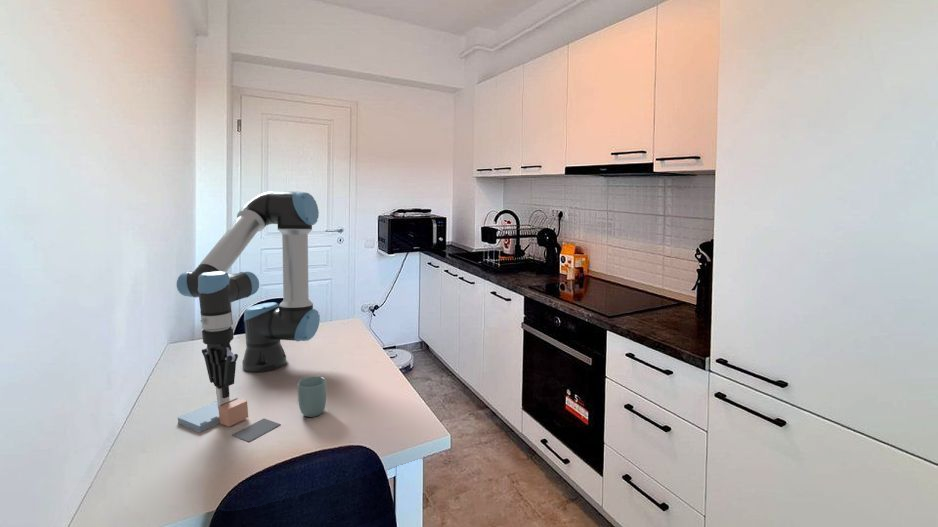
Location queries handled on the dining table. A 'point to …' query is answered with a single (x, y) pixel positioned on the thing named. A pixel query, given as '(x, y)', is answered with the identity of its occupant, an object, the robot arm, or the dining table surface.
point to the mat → (256, 430)
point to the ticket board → (201, 417)
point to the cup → (312, 395)
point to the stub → (233, 411)
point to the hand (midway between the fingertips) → (223, 407)
